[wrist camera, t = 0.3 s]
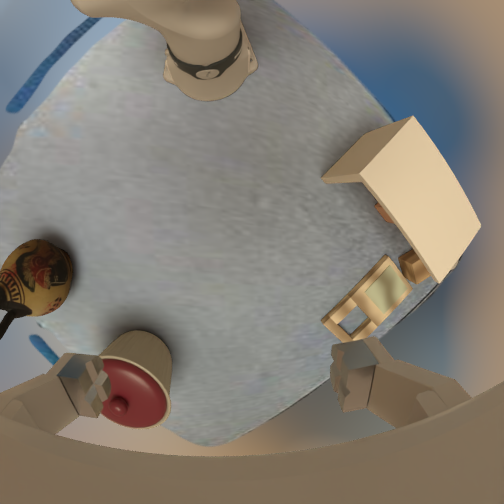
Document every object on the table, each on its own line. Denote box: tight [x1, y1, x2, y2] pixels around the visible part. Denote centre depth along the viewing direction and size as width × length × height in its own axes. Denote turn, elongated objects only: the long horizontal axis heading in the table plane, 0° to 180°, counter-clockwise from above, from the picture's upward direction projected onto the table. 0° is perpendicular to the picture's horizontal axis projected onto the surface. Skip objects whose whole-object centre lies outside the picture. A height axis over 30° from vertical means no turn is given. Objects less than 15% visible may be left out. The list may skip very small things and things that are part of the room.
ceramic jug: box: [0, 239, 73, 339], centre depth 40 cm, size 17×15×30 cm
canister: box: [98, 330, 172, 429], centre depth 50 cm, size 18×18×21 cm
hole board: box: [321, 255, 413, 343], centre depth 60 cm, size 20×11×2 cm, turn 136°
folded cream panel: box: [321, 116, 481, 283], centre depth 47 cm, size 14×24×18 cm, turn 46°
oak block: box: [398, 249, 431, 284], centre depth 57 cm, size 5×5×6 cm
